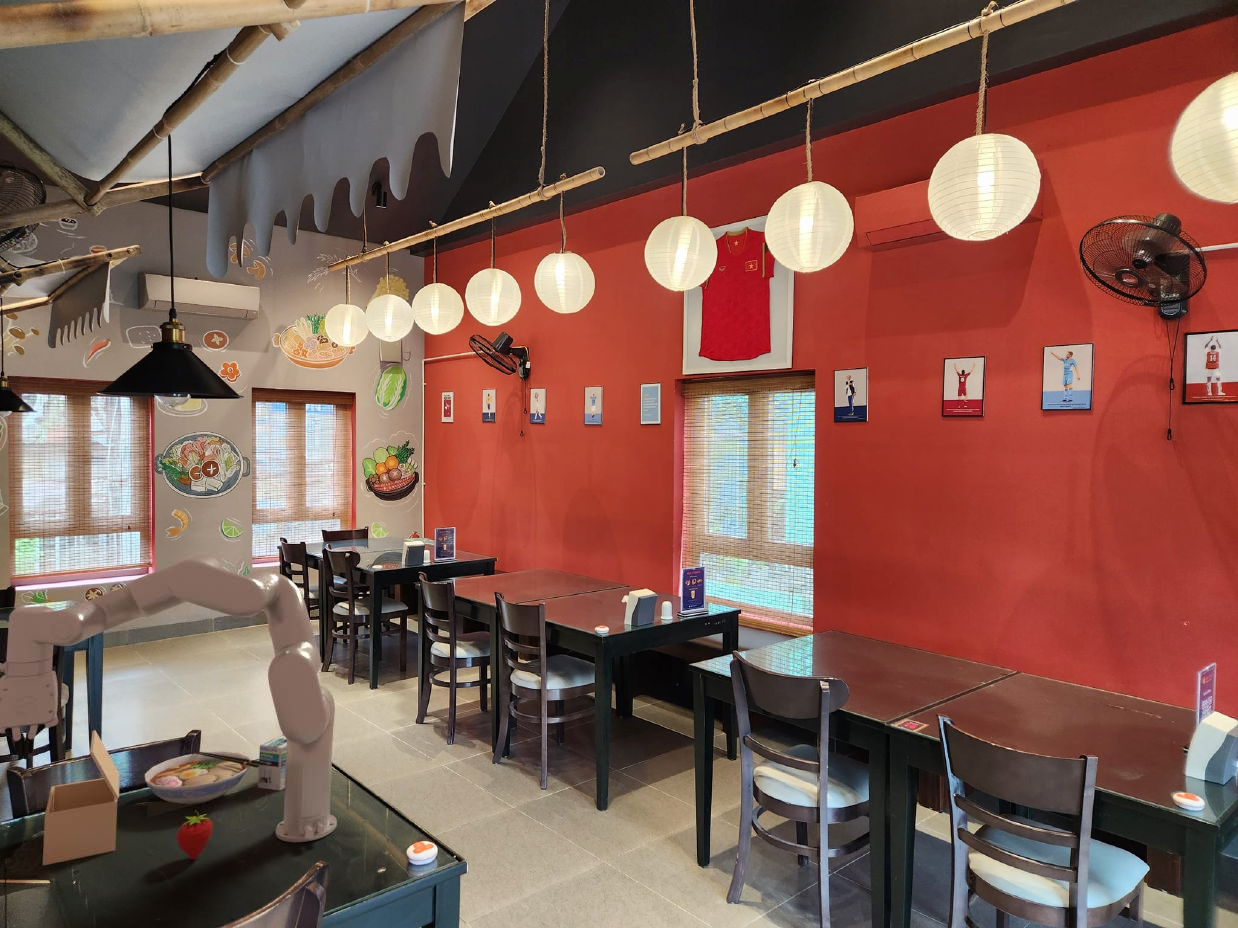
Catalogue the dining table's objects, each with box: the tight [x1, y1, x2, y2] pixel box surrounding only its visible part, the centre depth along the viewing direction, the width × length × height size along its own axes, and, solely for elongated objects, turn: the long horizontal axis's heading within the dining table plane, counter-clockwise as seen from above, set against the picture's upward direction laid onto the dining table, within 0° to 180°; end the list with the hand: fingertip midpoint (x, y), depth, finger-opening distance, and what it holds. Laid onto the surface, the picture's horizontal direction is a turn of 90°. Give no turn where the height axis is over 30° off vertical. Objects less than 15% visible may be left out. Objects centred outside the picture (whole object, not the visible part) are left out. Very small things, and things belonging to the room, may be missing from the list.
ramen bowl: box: [144, 749, 265, 805], centre depth 182 cm, size 25×23×8 cm
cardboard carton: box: [42, 777, 118, 866], centre depth 159 cm, size 16×12×10 cm
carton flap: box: [89, 729, 120, 800], centre depth 161 cm, size 16×12×1 cm
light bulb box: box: [257, 733, 287, 791], centre depth 193 cm, size 11×7×11 cm, turn 168°
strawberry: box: [176, 811, 214, 860], centre depth 153 cm, size 6×8×10 cm
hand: (23, 757), depth 154 cm, fingers closed
